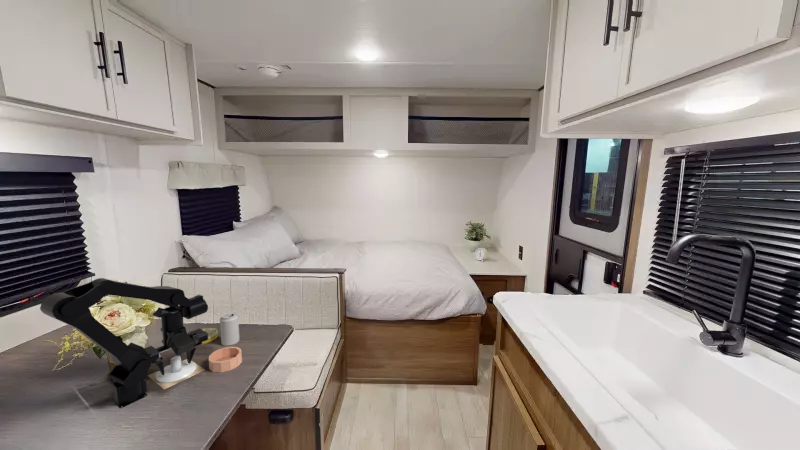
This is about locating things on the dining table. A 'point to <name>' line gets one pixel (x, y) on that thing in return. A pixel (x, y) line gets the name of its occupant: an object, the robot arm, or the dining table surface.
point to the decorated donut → (210, 335)
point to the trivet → (166, 385)
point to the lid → (176, 371)
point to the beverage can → (229, 328)
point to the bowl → (225, 359)
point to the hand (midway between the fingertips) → (176, 368)
